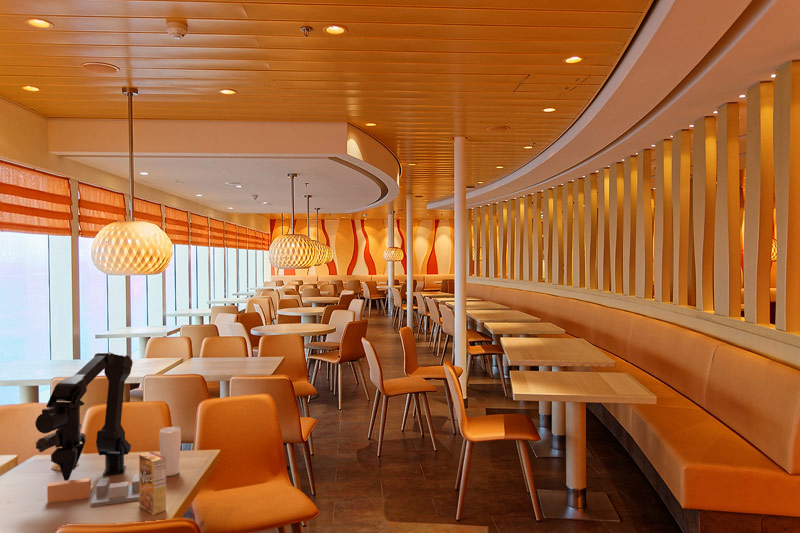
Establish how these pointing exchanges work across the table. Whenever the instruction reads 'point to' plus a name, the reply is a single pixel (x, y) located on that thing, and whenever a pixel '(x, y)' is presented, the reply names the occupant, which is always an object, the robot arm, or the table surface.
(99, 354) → the robot arm
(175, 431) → the drinking glass
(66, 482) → the orange bracket
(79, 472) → the table surface
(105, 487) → the display stand
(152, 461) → the candy box
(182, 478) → the table surface
